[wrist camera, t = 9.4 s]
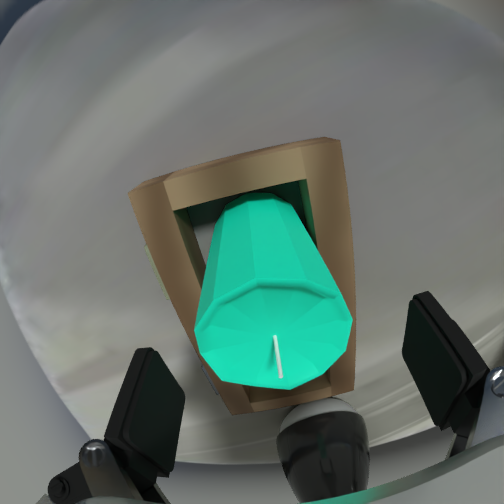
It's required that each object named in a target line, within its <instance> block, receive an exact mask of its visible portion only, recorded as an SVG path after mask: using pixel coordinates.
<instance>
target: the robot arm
mask: <svg viewBox="0 0 504 504" xmlns="http://www.w3.org/2000/svg"><path fill="white" fill-rule="evenodd" d="M402 356H403V359H404V361H405V363H406V365H407V367H408V369H409V371H410V373H411V375H412V377H413V379H414V381H415V383H416V385H417V387H418V389H419V391H420V394H421V396H422V398H423V400H424V402H425V404H426V407H427V409H428V411H429V413H430V416H431V418H432V420H433V422H434V424H435V425H436V426H438V425H439V427H440V429H441V431H442V430H444V429H446V428H448V427H450V426H451V427H452V430H453V432H454V436H453V439H452V442H451V444H450V448H449V450H448V453H447V455H446V458H445V460H444V461H442V462H440V463H438V464H435V465H433V466H431V467H428V468H426V469H424V470H421V471H419V472H416V473H414V474H411V475H409V476H406V477H403V478H401V479H398V480H395V481H392V482H389V483H386V484H383V485H380V486H377V487H373V488H370V489H366V490H363V491H359V492H355V493H351V494H347V495H343V496H339V497H334V498H329V499H324V500H319V501H313V502H306V503H300V504H504V366H500V367H496V368H494V369H493V370H491V371H490V369H489V368H488V366H487V365H486V363H485V362H484V360H483V359H482V357H481V356H480V355H479V353H478V352H477V350H476V349H475V347H474V346H473V345H472V343H471V342H470V341H469V339H468V338H467V336H466V335H465V334H464V332H463V331H462V330H461V328H460V327H459V326H458V324H457V323H456V322H455V321H454V320H452V319H451V318H450V317H449V315H448V314H447V313H446V311H445V310H444V309H443V308H442V306H441V305H440V304H439V303H438V301H437V300H436V299H435V298H434V297H433V295H432V294H431V293H430V292H429V291H426V292H422V293H419V294H416V295H414V296H413V299H412V300H410V302H409V308H408V316H407V323H406V329H405V336H404V342H403V347H402ZM184 404H185V394H184V391H183V390H182V388H181V387H180V386H179V384H178V383H177V381H176V380H175V378H174V376H173V375H172V373H171V372H170V370H169V369H168V367H167V366H166V364H165V362H164V361H163V359H162V358H161V356H160V354H159V353H158V352H157V351H154V349H153V348H151V347H149V348H138V349H136V351H135V353H134V356H133V358H132V361H131V363H130V366H129V368H128V371H127V373H126V376H125V378H124V381H123V384H122V386H121V389H120V392H119V394H118V397H117V400H116V403H115V405H114V408H113V411H112V414H111V417H110V420H109V423H108V426H107V429H106V432H105V435H104V437H105V438H104V441H103V440H100V439H92V440H89V441H88V442H86V443H85V444H84V445H83V446H82V447H81V449H80V452H79V462H78V463H76V464H75V465H73V466H72V467H70V468H68V469H67V470H65V471H63V472H62V473H60V474H58V475H56V476H55V477H54V478H53V479H51V481H50V483H49V486H48V494H49V495H47V494H45V495H43V497H42V498H41V499H40V500H39V501H38V502H37V503H36V504H171V503H170V502H169V501H168V499H167V498H166V497H165V495H164V494H163V492H162V491H161V489H160V488H159V486H158V485H157V483H156V478H157V476H158V477H168V478H169V474H170V472H171V471H172V470H173V468H174V463H175V457H176V450H177V444H178V438H179V432H180V426H181V421H182V415H183V409H184Z"/></svg>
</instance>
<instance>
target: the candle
mask: <svg viewBox="0 0 504 504" xmlns="http://www.w3.org/2000/svg"><path fill="white" fill-rule="evenodd" d="M352 321H353V319H352V316H351V314H350V312H349V310H348V307H347V305H346V303H345V301H344V299H343V296H342V294H341V292H340V290H339V289H338V287H337V285H336V283H335V281H334V279H333V277H332V275H331V274H330V272H329V270H328V268H327V266H326V264H325V263H324V261H323V259H322V257H321V255H320V254H319V252H318V250H317V248H316V246H315V245H314V243H313V241H312V239H311V238H310V236H309V234H308V232H307V231H306V229H305V227H304V225H303V224H302V222H301V220H300V219H299V217H298V215H297V213H296V212H295V210H294V208H293V207H292V205H291V204H290V203H288V202H286V201H285V200H283V199H281V198H279V197H278V196H276V195H274V194H272V193H246V194H244V195H242V196H240V197H239V198H237V199H235V200H233V201H232V202H230V203H228V204H227V205H226V206H225V208H224V210H223V211H222V213H221V215H220V217H219V218H218V220H217V222H216V224H215V228H214V232H213V237H212V241H211V246H210V251H209V256H208V260H207V265H206V270H205V275H204V280H203V285H202V290H201V295H200V301H199V306H198V311H197V317H196V322H195V328H194V332H195V336H196V340H197V344H198V348H199V352H200V354H201V355H202V357H203V358H204V359H205V361H206V362H207V363H208V364H209V366H210V367H211V368H212V369H213V371H214V372H215V373H216V374H217V375H218V377H219V378H220V379H221V380H222V381H226V382H231V383H237V384H243V385H250V386H257V387H266V388H276V389H287V390H291V389H293V388H295V387H297V386H299V385H302V384H304V383H306V382H308V381H310V380H312V379H314V378H316V377H318V376H320V375H322V374H323V373H324V372H325V371H326V370H327V369H328V368H329V367H330V366H331V365H332V364H333V363H334V362H335V361H336V360H337V359H338V358H339V357H340V356H341V355H342V354H343V353H344V352H345V351H346V347H347V343H348V339H349V335H350V330H351V326H352Z"/></svg>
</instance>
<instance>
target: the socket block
mask: <svg viewBox="0 0 504 504" xmlns="http://www.w3.org/2000/svg"><path fill="white" fill-rule="evenodd" d="M297 180H298V183H299V188H300V193H301V199H302V204H303V210H304V216H305V221H306V227H307V232H308V234H309V236H310V238H311V239H312V241H313V243H314V245H315V246H316V248H317V250H318V252H319V254H320V255H321V257H322V259H323V261H324V263H325V264H326V266H327V268H328V270H329V272H330V274H331V275H332V277H333V279H334V281H335V283H336V285H337V287H338V289H339V290H340V292H341V294H342V296H343V299H344V301H345V303H346V305H347V307H348V310H349V312H350V314H351V316H352V319H353V321H352V326H351V330H350V335H349V339H348V343H347V347H346V351H345V352H344V353H343V354H342V355H341V356H340V357H339V358H338V359H337V360H336V361H335V362H334V363H333V364H332V365H331V366H330V367H329V368H328V369H327V370H326V371H325V372H324V373H323V374H322V375H320V376H318V377H316V378H314V379H312V380H310V381H308V382H306V383H304V384H302V385H299V386H297V387H295V388H293V389H291V390H287V389H276V388H266V387H257V386H250V385H243V384H237V383H231V382H226V381H222V380H221V379H220V378H219V377H218V375H217V374H216V373H215V372H214V371H213V369H212V368H211V367H210V366H209V364H208V363H207V362H206V361H205V359H204V358H203V357H202V355H201V354H200V352H199V348H198V344H197V340H196V336H195V332H194V328H195V322H196V317H197V311H198V306H199V301H200V295H201V290H202V285H203V280H204V275H205V270H206V265H205V262H204V260H203V257H202V254H201V251H200V248H199V245H198V242H197V239H196V236H195V233H194V230H193V227H192V224H191V221H190V218H189V215H188V212H187V209H186V207H189V206H192V205H196V204H200V203H204V202H207V201H211V200H215V199H219V198H223V197H227V196H231V195H235V194H239V193H243V192H247V191H252V190H256V189H260V188H265V187H269V186H273V185H278V184H283V183H287V182H292V181H297ZM128 196H129V199H130V201H131V204H132V207H133V210H134V212H135V215H136V218H137V221H138V223H139V226H140V228H141V231H142V234H143V236H144V239H145V241H146V245H145V246H144V249H145V251H146V254H147V256H148V259H149V261H150V263H151V266H152V268H153V270H154V273H155V275H156V277H157V279H158V282H159V284H160V286H161V288H162V290H163V293H164V295H165V297H166V299H167V300H169V299H170V300H171V302H172V304H173V306H174V308H175V310H176V312H177V315H178V317H179V319H180V321H181V323H182V325H183V327H184V329H185V331H186V333H187V335H188V337H189V339H190V341H191V343H192V345H193V347H194V349H195V351H196V353H197V354H198V356H199V358H200V360H201V362H202V366H201V368H202V370H203V372H204V373H205V375H206V377H207V379H208V380H209V382H210V384H211V386H212V387H213V389H214V391H215V392H216V394H217V395H218V394H220V396H221V398H222V399H223V401H224V403H225V405H226V406H227V408H228V410H229V411H230V413H231V414H232V415H237V414H245V413H252V412H259V411H265V410H271V409H276V408H282V407H287V406H292V405H297V404H302V403H306V402H310V401H315V400H319V399H323V398H327V397H331V396H335V395H338V394H342V393H345V392H349V391H352V390H354V379H355V355H356V295H355V270H354V253H353V239H352V228H351V217H350V207H349V199H348V190H347V183H346V175H345V168H344V162H343V155H342V149H341V143H340V140H336V139H332V138H327V137H320V138H314V139H309V140H303V141H298V142H292V143H287V144H282V145H277V146H272V147H268V148H263V149H259V150H254V151H250V152H246V153H241V154H237V155H233V156H229V157H225V158H221V159H218V160H214V161H210V162H206V163H203V164H199V165H196V166H192V167H189V168H185V169H182V170H179V171H175V172H172V173H169V174H166V175H163V176H159V177H156V178H153V179H150V180H147V181H144V182H143V183H141V184H140V185H138V186H137V187H136V188H134V189H133V190H131V191H130V192H129V193H128Z"/></svg>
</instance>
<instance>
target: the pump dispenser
mask: <svg viewBox="0 0 504 504" xmlns="http://www.w3.org/2000/svg"><path fill="white" fill-rule="evenodd" d="M276 444H277V451H278V455H279V458H280V462H281V465H282V468H283V471H284V473H285V476H286V478H287V480H288V483H289V485H290V487H291V489H292V491H293V492H294V494H295V496H296V498H297V499H298V501H299V502H300V503H306V502H313V501H319V500H324V499H329V498H334V497H339V496H343V495H347V494H351V493H355V492H359V491H363V490H366V489H367V485H368V478H369V460H370V459H369V442H368V435H367V429H366V425H365V422H364V419H363V417H362V416H361V415H359V414H358V413H357V412H356V410H355V409H354V408H353V407H352V406H351V405H349V404H348V403H346V402H344V401H342V400H339V399H335V398H323V399H319V400H315V401H310V402H306V403H303V404H301V405H299V406H297V407H296V408H294V409H293V410H292V411H291V412H290V413H289V414H288V415H287V416H286V417H285V419H284V420H283V422H282V425H281V427H280V431H279V435H278V436H277V439H276Z"/></svg>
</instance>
